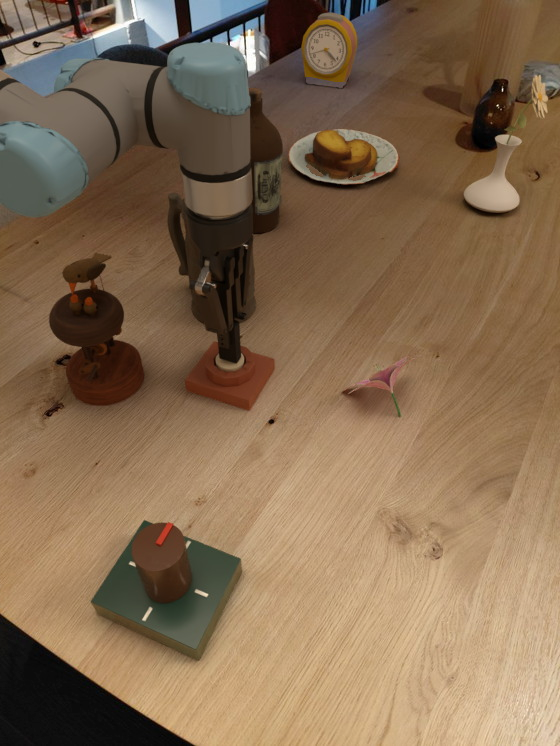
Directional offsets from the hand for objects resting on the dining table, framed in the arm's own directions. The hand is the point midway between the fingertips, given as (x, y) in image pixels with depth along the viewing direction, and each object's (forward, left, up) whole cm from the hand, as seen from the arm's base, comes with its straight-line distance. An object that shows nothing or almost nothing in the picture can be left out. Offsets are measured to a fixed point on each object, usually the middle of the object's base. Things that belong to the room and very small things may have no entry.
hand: (230, 357), depth 80 cm
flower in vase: (+28, +69, -5) cm, 75 cm away
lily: (+21, +5, -5) cm, 22 cm away
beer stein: (-11, +15, -5) cm, 19 cm away
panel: (+8, -31, -5) cm, 32 cm away
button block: (0, 0, -5) cm, 5 cm away
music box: (-16, -8, -5) cm, 19 cm away
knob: (+8, -31, -1) cm, 32 cm away
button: (0, 0, -2) cm, 2 cm away
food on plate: (-7, +74, -5) cm, 74 cm away
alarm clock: (-29, +125, -5) cm, 128 cm away
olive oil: (-15, +42, -5) cm, 45 cm away
